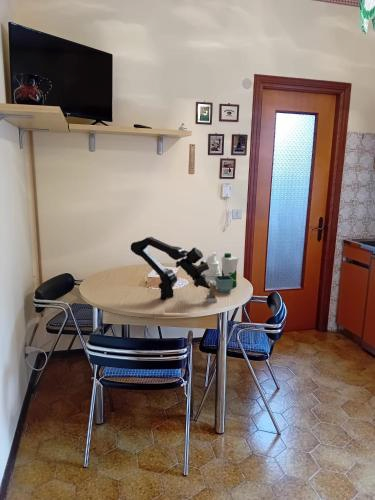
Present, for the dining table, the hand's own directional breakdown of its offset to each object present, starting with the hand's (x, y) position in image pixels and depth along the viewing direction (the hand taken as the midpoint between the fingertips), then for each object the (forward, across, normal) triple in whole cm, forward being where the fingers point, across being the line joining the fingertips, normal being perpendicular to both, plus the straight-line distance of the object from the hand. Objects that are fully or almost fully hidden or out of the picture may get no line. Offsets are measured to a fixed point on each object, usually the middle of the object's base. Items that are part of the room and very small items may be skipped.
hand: (209, 288), depth 203 cm
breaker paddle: (+6, 0, +3) cm, 7 cm away
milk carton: (+16, +31, -5) cm, 35 cm away
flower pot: (+12, +17, -1) cm, 21 cm away
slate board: (+2, +1, +9) cm, 9 cm away
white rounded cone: (+9, +45, +2) cm, 46 cm away
